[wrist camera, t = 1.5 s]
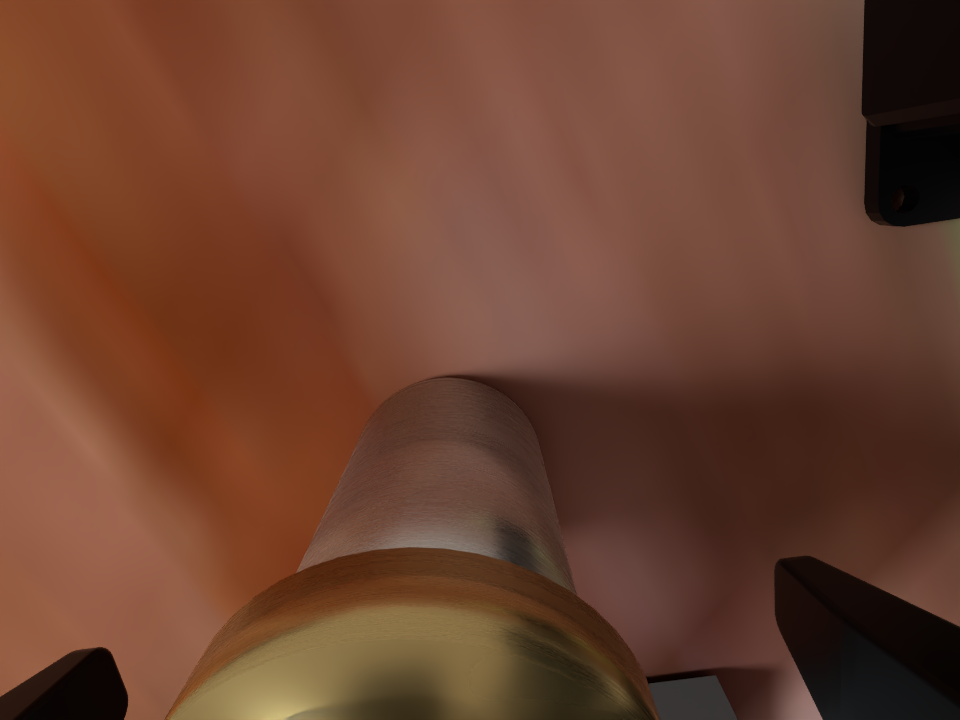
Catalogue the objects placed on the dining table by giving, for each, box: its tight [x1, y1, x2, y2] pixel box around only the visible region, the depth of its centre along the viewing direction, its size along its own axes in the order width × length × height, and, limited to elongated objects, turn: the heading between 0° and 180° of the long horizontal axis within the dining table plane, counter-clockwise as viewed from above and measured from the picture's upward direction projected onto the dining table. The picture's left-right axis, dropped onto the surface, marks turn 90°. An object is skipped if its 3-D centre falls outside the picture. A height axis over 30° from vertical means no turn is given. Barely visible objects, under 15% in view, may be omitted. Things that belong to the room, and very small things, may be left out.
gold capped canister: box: [165, 378, 661, 720], centre depth 9 cm, size 5×5×8 cm
